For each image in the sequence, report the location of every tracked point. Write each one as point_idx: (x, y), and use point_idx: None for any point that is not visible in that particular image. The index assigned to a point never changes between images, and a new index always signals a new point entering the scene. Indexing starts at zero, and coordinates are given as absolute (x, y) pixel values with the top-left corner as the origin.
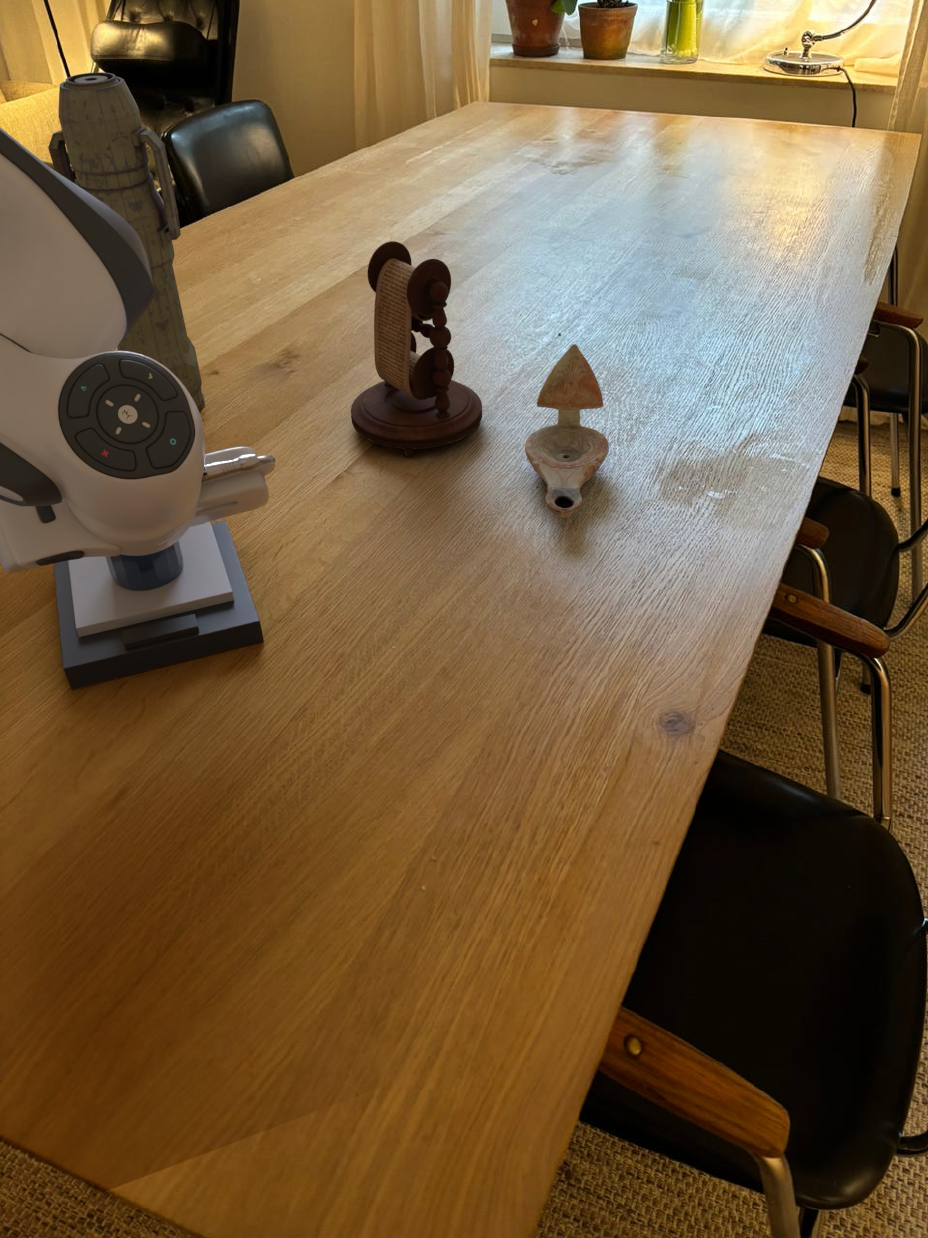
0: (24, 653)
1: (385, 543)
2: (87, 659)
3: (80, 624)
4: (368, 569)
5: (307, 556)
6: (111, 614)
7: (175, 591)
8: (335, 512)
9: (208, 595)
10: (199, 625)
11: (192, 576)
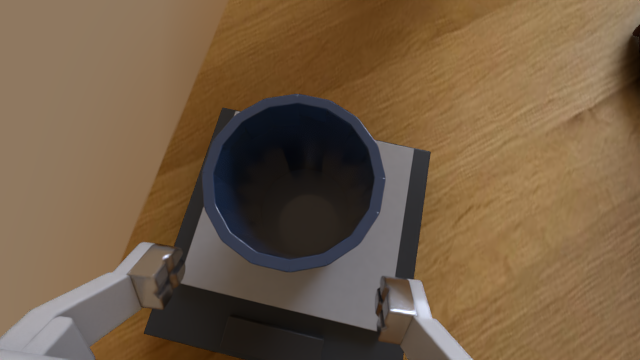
0: (150, 225)
1: (594, 278)
2: (175, 334)
3: (185, 278)
4: (557, 317)
5: (493, 244)
6: (226, 282)
7: (317, 284)
8: (553, 180)
9: (353, 322)
10: (322, 354)
11: (349, 263)
